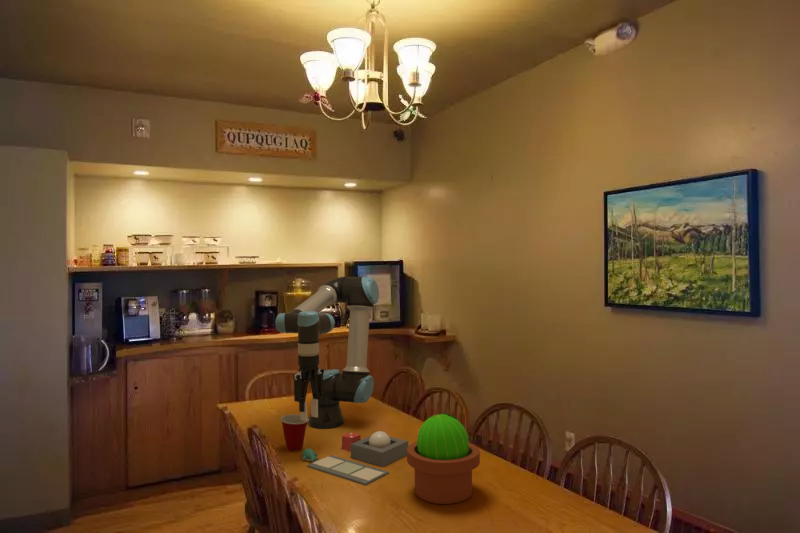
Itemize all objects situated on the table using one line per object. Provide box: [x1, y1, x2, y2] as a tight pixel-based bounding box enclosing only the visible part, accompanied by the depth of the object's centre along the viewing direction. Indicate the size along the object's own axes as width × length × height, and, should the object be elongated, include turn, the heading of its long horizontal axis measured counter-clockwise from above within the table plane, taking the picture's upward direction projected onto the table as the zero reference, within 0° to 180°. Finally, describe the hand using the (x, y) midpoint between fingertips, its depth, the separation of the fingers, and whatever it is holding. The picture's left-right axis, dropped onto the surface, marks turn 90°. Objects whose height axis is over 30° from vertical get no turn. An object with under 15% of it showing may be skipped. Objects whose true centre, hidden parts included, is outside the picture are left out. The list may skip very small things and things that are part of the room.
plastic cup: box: [280, 413, 310, 452], centre depth 216 cm, size 11×11×12 cm
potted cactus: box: [406, 411, 481, 505], centre depth 175 cm, size 22×22×25 cm
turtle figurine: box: [301, 448, 319, 463], centre depth 204 cm, size 6×7×4 cm
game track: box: [306, 454, 390, 486], centre depth 194 cm, size 12×27×1 cm, turn 53°
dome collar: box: [350, 435, 409, 467], centre depth 207 cm, size 15×15×5 cm
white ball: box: [369, 430, 391, 449], centre depth 207 cm, size 8×8×8 cm
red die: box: [341, 432, 362, 452], centre depth 216 cm, size 5×5×5 cm
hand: (309, 418), depth 205 cm, fingers open, 5 cm apart
